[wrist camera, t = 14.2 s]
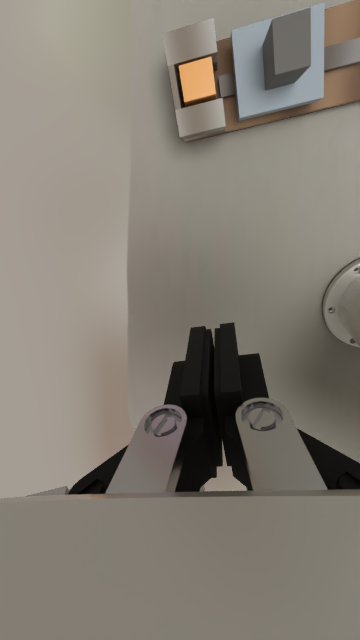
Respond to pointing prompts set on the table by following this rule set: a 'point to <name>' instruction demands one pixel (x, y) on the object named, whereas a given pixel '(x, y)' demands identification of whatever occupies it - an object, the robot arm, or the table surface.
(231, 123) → the rail board
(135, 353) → the table surface
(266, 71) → the carriage
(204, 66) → the button
